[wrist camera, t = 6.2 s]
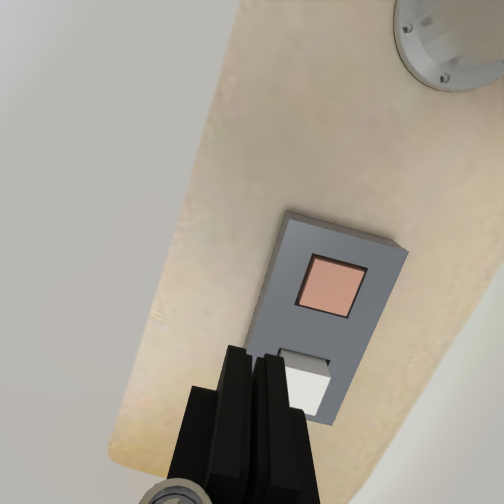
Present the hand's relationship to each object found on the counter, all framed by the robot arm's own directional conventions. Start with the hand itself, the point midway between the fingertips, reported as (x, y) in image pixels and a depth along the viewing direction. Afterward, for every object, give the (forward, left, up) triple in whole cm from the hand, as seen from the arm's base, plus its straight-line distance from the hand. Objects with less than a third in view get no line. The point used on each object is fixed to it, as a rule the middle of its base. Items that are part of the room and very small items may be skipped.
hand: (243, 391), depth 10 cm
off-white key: (+15, +9, -23) cm, 29 cm away
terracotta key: (+4, +9, -25) cm, 27 cm away
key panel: (+10, +9, -27) cm, 30 cm away
